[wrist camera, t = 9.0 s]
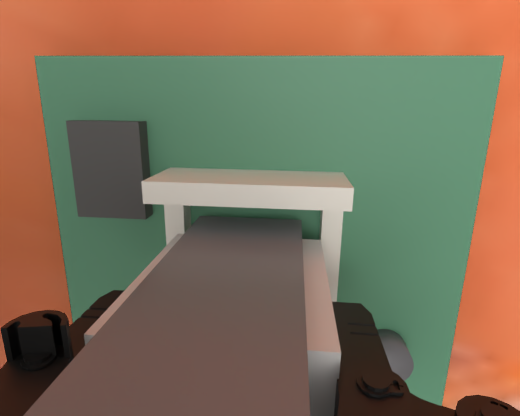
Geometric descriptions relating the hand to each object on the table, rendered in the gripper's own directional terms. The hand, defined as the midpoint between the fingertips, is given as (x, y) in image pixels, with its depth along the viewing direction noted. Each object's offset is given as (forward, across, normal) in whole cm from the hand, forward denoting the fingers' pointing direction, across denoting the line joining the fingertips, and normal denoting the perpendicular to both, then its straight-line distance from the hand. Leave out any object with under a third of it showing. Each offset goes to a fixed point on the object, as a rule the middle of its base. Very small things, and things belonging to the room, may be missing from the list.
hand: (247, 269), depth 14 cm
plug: (+1, 0, 0) cm, 1 cm away
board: (+3, 0, 0) cm, 3 cm away
